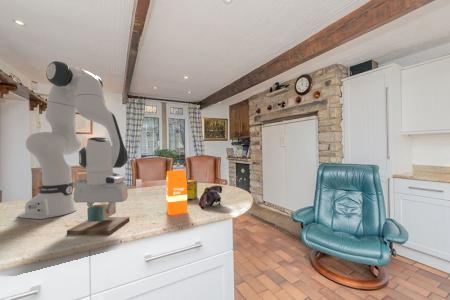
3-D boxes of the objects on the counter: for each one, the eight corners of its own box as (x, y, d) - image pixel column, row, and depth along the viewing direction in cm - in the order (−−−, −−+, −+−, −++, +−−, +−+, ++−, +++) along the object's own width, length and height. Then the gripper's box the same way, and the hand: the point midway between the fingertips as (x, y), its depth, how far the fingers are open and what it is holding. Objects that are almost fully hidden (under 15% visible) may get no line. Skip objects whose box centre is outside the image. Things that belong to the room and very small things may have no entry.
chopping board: (66, 234, 75) (66, 230, 75) (93, 220, 89) (93, 217, 89) (109, 234, 74) (109, 230, 74) (129, 220, 88) (129, 217, 88)
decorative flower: (198, 184, 116) (223, 177, 113) (206, 202, 119) (230, 195, 116) (191, 198, 102) (219, 190, 99) (200, 217, 105) (227, 210, 102)
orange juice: (166, 210, 102) (165, 170, 101) (184, 208, 105) (183, 169, 105) (168, 215, 94) (167, 171, 94) (187, 212, 98) (186, 170, 98)
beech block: (104, 212, 87) (87, 221, 77) (104, 201, 87) (87, 208, 77) (115, 212, 87) (100, 221, 77) (115, 201, 87) (100, 208, 77)
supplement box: (194, 200, 120) (193, 181, 120) (184, 199, 121) (184, 181, 121) (197, 197, 126) (197, 179, 126) (188, 197, 127) (188, 179, 127)
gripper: (68, 180, 79) (69, 215, 79) (120, 179, 78) (122, 215, 78) (80, 177, 85) (81, 210, 85) (129, 176, 84) (130, 210, 84)
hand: (101, 213), depth 82 cm, fingers closed on beech block, 5 cm apart
